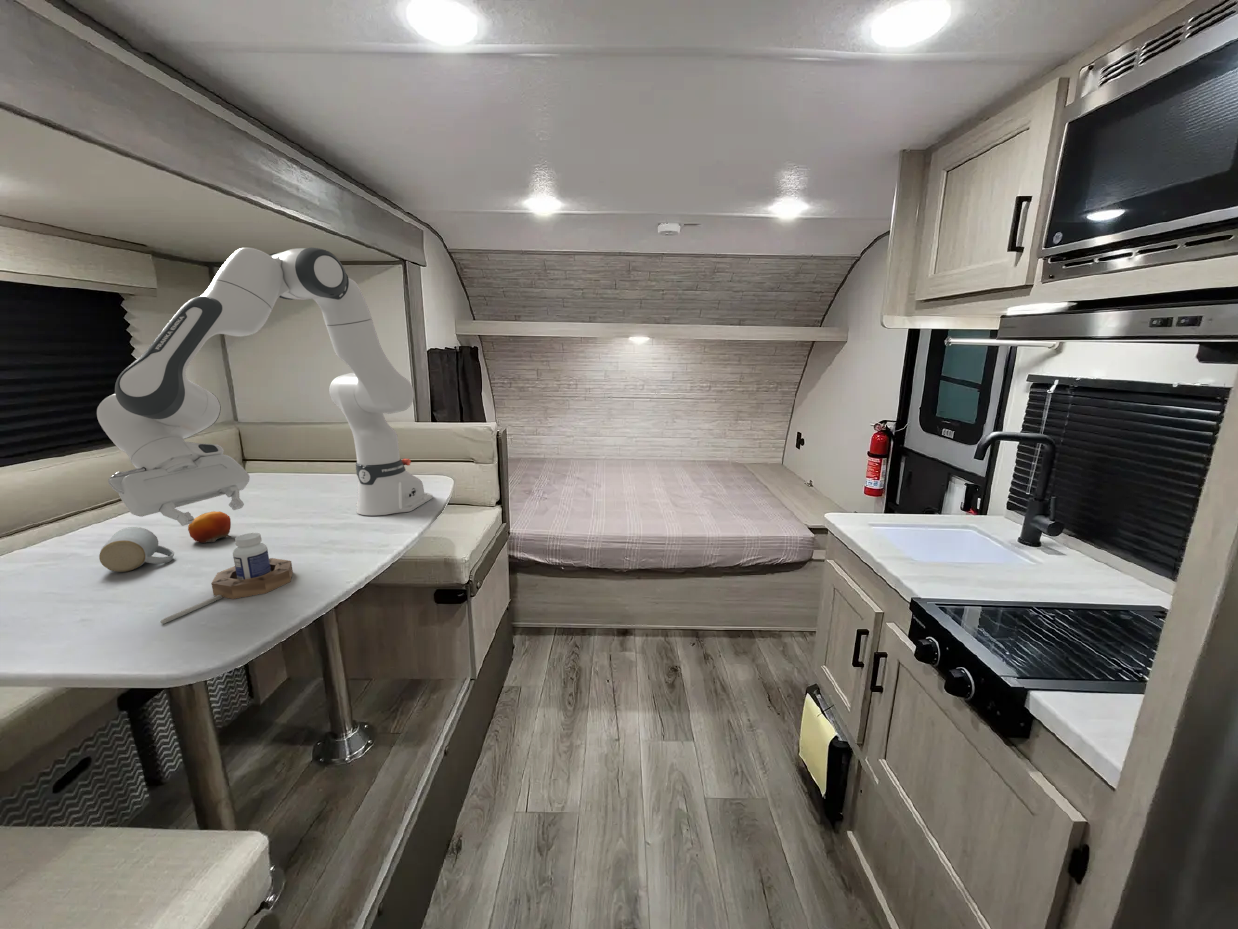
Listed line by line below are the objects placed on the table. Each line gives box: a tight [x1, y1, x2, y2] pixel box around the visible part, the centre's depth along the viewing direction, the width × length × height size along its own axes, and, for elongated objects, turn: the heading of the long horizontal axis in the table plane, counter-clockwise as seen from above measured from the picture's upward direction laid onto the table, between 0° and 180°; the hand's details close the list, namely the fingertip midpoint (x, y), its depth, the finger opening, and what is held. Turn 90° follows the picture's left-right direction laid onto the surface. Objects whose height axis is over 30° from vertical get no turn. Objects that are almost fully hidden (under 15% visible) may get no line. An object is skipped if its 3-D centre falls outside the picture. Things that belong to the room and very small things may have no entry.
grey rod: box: [160, 595, 223, 625], centre depth 86 cm, size 9×1×1 cm, turn 164°
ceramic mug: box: [98, 526, 175, 573], centre depth 104 cm, size 11×8×8 cm
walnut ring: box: [211, 557, 294, 600], centre depth 96 cm, size 12×12×2 cm
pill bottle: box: [232, 532, 271, 580], centre depth 95 cm, size 5×5×10 cm
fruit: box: [187, 510, 232, 544], centre depth 119 cm, size 8×8×8 cm
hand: (215, 514), depth 96 cm, fingers open, 8 cm apart
